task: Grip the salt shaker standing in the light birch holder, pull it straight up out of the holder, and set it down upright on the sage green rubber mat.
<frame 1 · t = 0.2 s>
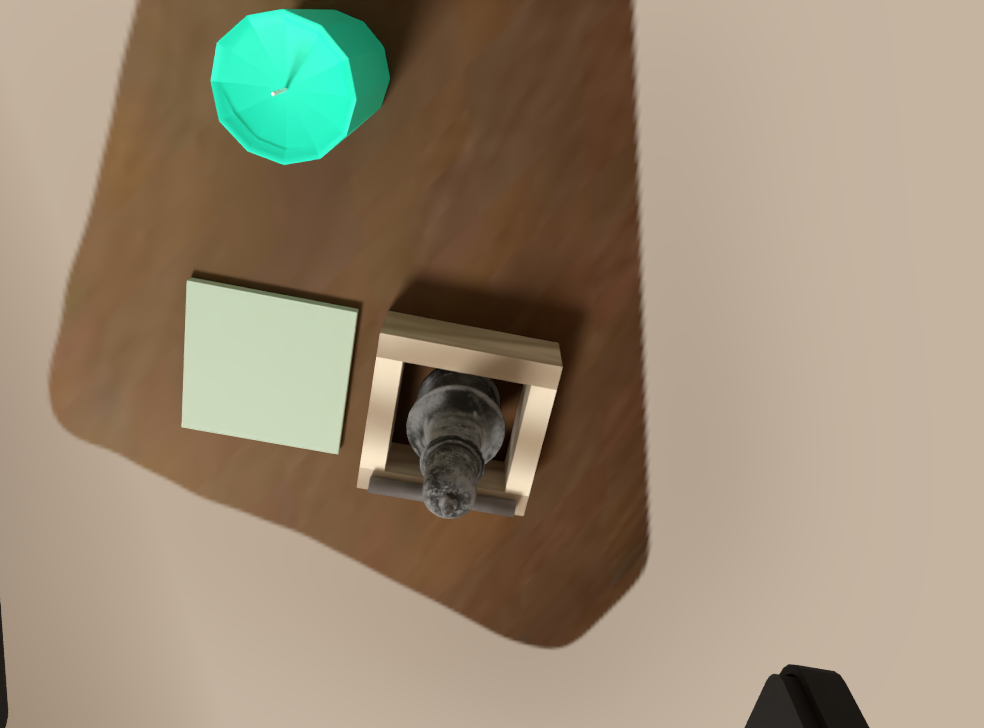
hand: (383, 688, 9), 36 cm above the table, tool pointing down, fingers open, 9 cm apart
mat: (268, 367, 48), on the table
holder: (458, 402, 49), on the table
candle: (334, 71, 41), on the table
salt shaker: (458, 400, 49), resting in holder
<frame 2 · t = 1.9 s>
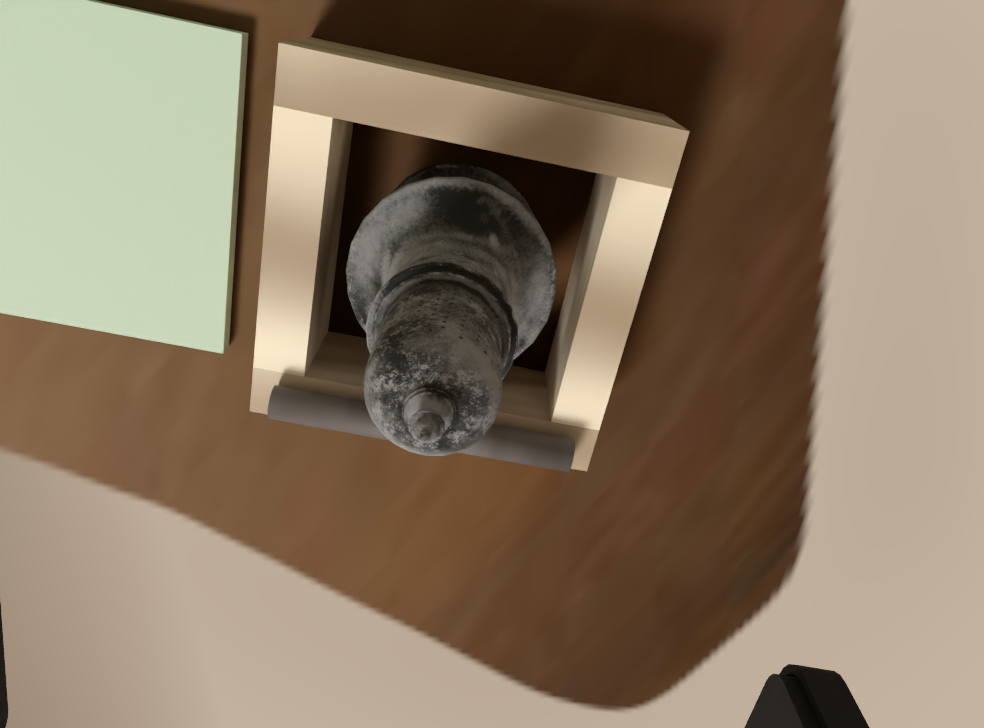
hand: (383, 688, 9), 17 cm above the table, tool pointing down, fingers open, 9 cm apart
mat: (74, 170, 24), on the table
holder: (457, 247, 25), on the table
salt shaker: (457, 244, 25), resting in holder
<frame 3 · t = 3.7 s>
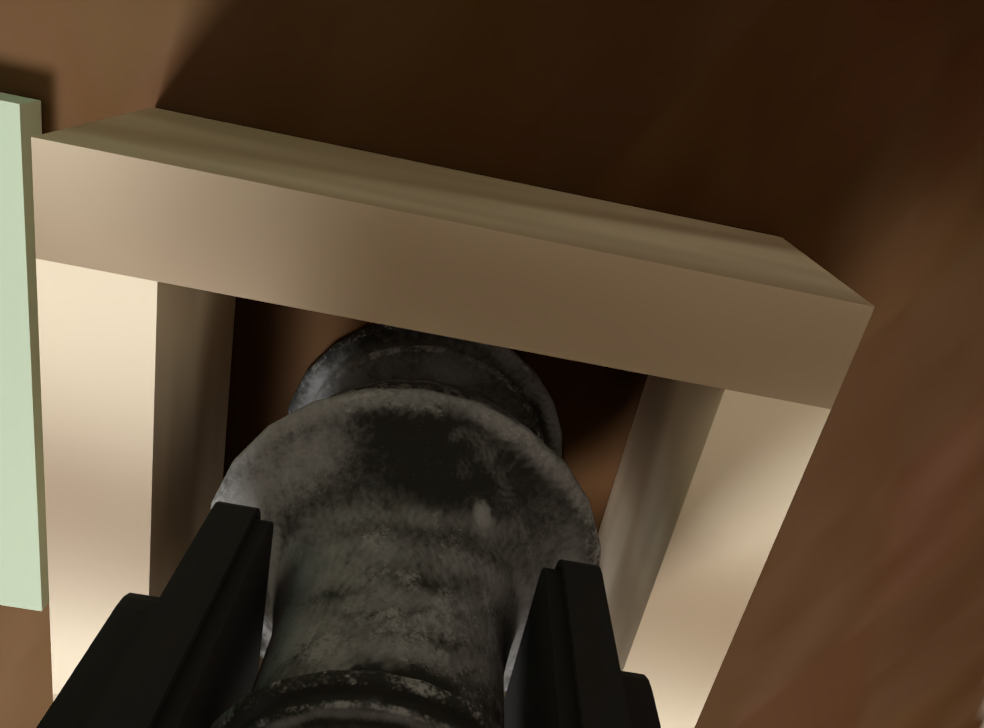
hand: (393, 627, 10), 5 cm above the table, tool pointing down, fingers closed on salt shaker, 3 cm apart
holder: (424, 447, 15), on the table
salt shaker: (425, 442, 15), resting in holder, touching gripper
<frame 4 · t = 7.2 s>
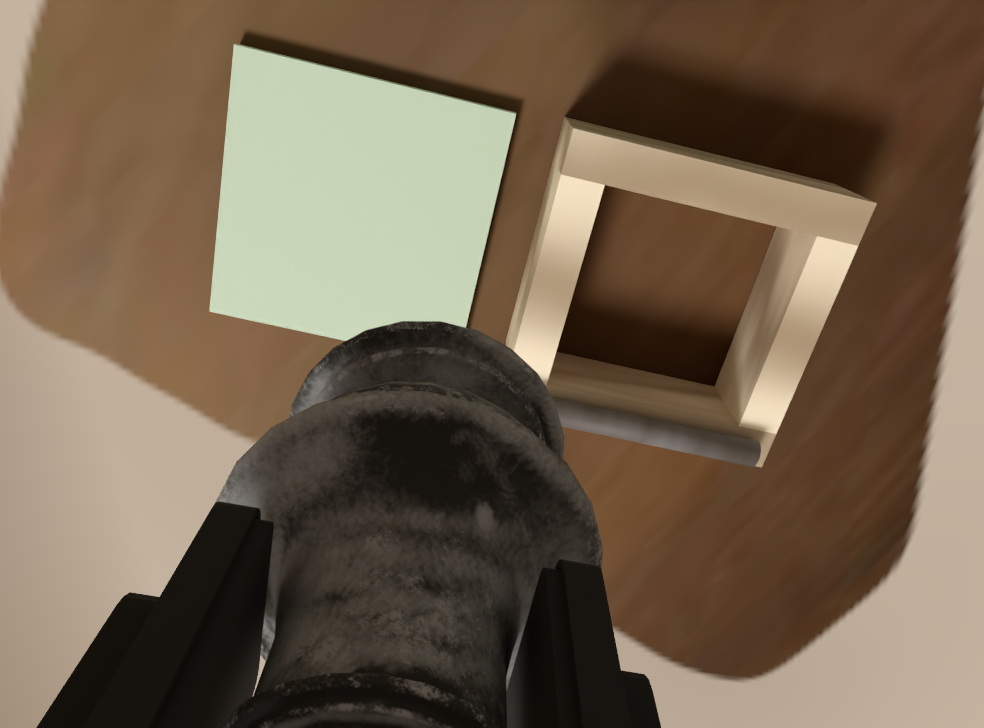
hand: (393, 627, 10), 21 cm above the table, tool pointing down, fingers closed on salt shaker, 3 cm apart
mat: (357, 214, 29), on the table
holder: (657, 283, 30), on the table
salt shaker: (426, 444, 15), point 16 cm above the table, touching gripper
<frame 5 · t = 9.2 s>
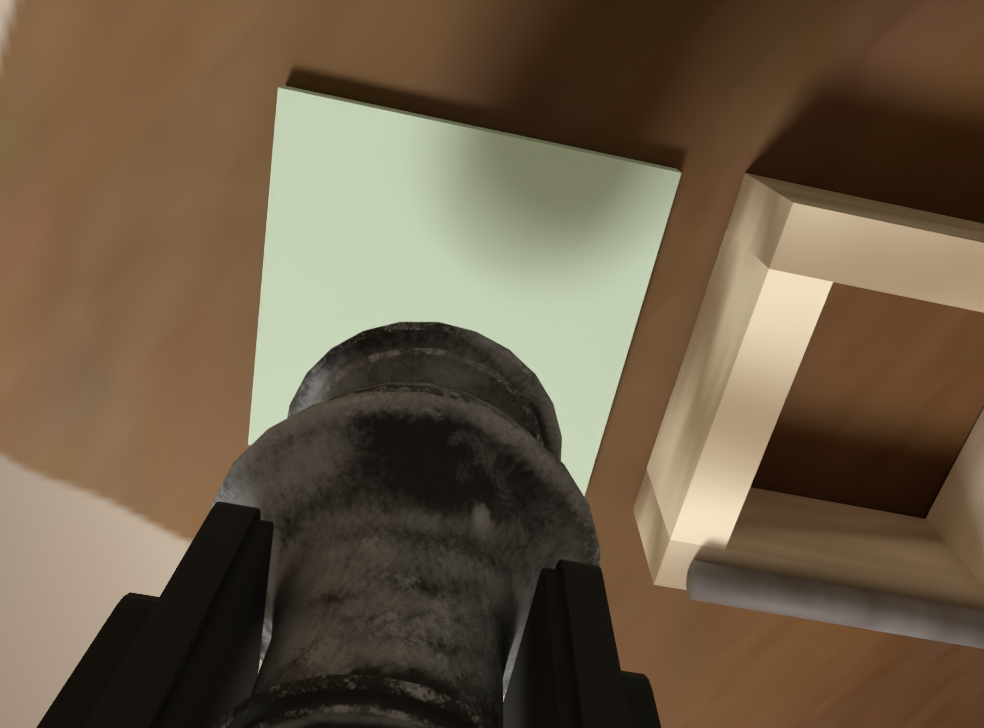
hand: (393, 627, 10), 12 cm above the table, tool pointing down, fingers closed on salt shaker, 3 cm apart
mat: (448, 311, 21), on the table
holder: (858, 390, 22), on the table
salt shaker: (424, 444, 15), point 7 cm above the table, touching gripper
when the fingers open (7 cm above the table, at t = 10.8 s): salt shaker drops 2 cm, resting on mat.
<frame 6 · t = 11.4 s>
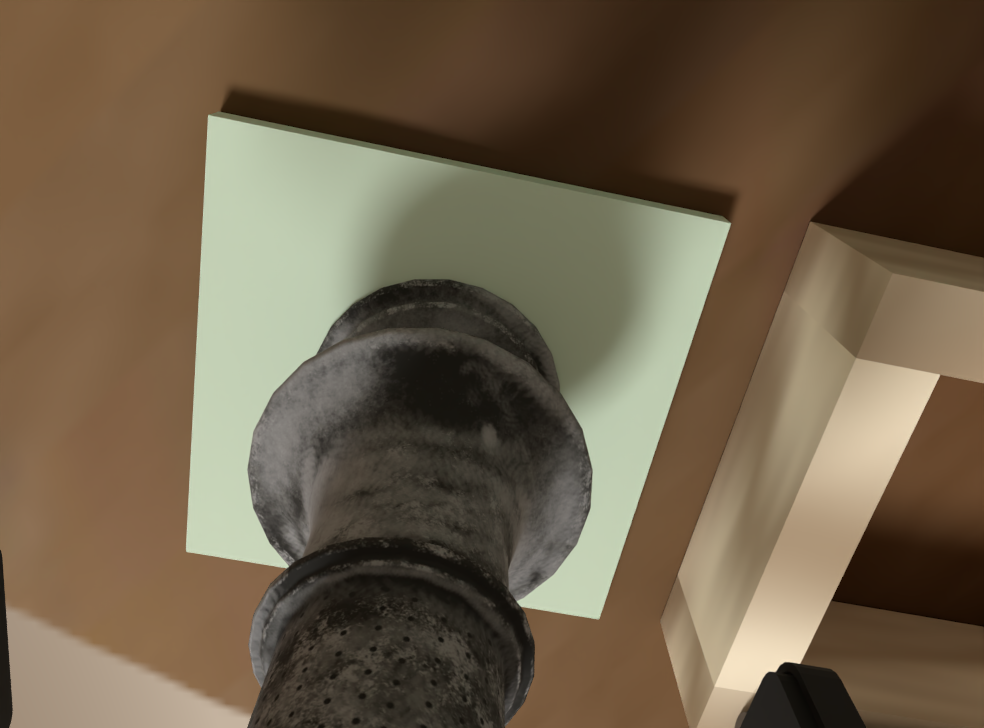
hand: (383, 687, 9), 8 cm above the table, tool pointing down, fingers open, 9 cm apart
mat: (433, 391, 17), on the table
holder: (942, 484, 18), on the table
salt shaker: (436, 393, 17), resting on mat
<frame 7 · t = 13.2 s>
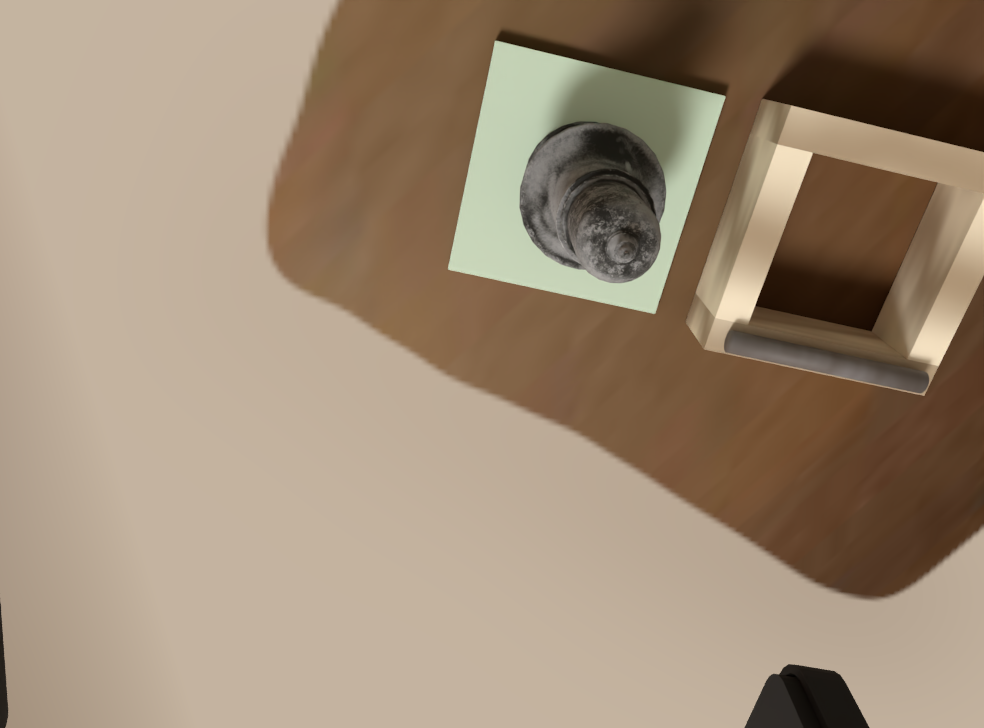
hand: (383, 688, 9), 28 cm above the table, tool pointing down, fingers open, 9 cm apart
mat: (579, 184, 35), on the table
holder: (829, 241, 36), on the table
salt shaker: (582, 182, 34), resting on mat
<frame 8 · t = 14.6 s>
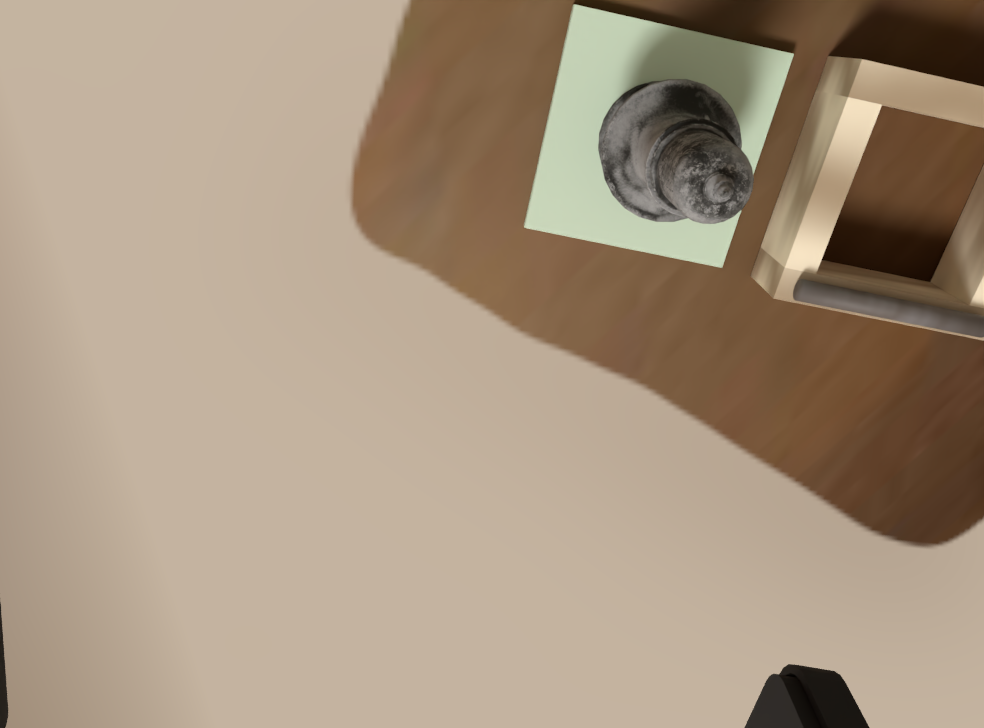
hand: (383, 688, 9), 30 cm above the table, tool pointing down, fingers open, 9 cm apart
mat: (650, 142, 36), on the table
holder: (890, 194, 37), on the table
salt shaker: (654, 140, 36), resting on mat
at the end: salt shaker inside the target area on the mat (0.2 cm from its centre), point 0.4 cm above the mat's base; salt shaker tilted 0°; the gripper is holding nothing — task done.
